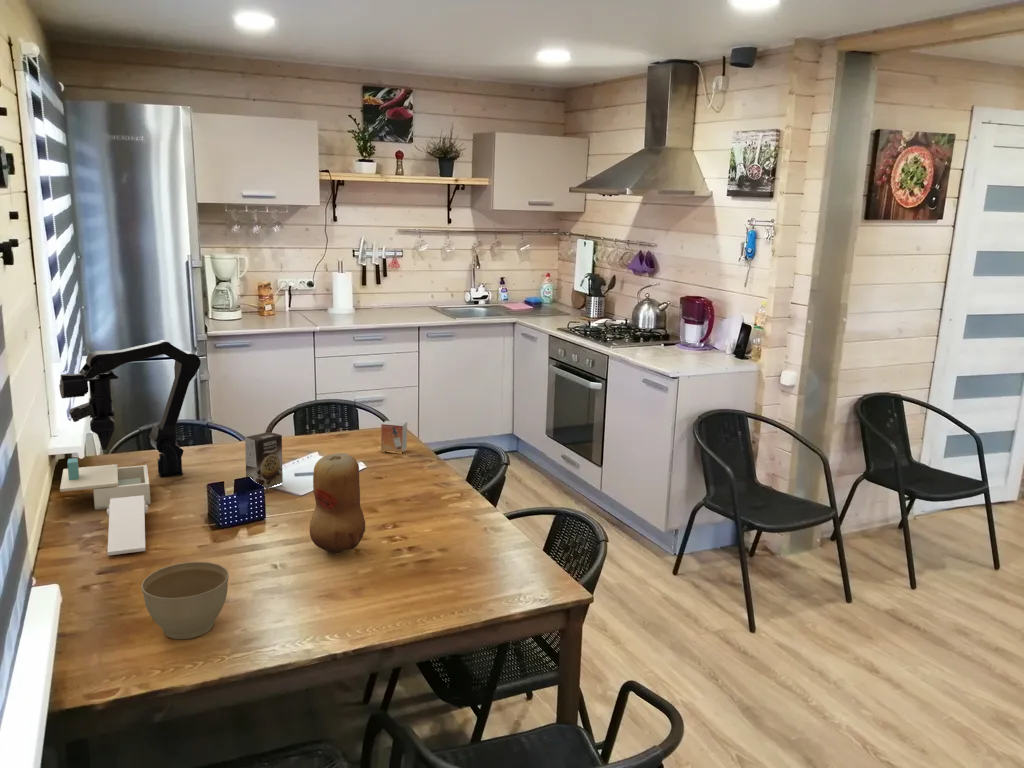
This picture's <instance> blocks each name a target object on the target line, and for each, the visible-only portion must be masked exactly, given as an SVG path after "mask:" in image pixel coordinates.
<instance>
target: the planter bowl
mask: <svg viewBox="0 0 1024 768" xmlns="http://www.w3.org/2000/svg"><path fill="white" fill-rule="evenodd" d="M229 575H230V574H229V570H228V569H227V568H226V567H224V566H223V565H220V564H218V563H215V562H210V561H208V562H207V561H188V562H187V561H186V562H182V563H181V562H179V563H176V564H171V565H168V566H164V567H161V568H159V569H157V570H155V571H154V572H152V573H150V574H149V575H147V577H145V578H144V579H143V581H142V583H141V587H140V588H141V593H142V594H143V600H144V604H145V607H146V610H147V612H148V613H149V615H150V617H151V619H152V620H153V621H154V623H155V624H157V625H156V626H158V627H160V628H161V629H162V632H163V634H164V635H165V636H166V637H168V638H170V639H174V640H188V639H194V638H197V637H200V636H202V635H204V634H207V633H208V632H209V631H211V630H212V629H213V627H214V626H215V621H216V619H217V618H218V616H219V614H220V613H221V612H222V609H223V607H224V605H225V602H226V598H227V595H228V587H229V586H228V583H229Z"/></svg>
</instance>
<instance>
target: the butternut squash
mask: <svg viewBox="0 0 1024 768" xmlns="http://www.w3.org/2000/svg"><path fill="white" fill-rule="evenodd" d="M312 483H313V484H312V485H313V487H312V488H313V495H314V496H313V497H314V500H315V508H314V510H313V513H312V514H311V519H310V522H309V535H310V539H311V541H312V543H314V545H315V546H316V547H318V548H320V549H321V550H323V551H325V552H328V553H332V554H336V553H340V554H342V552H345V551H349V550H354V549H355V548H356V547H357V546H358V545H359V544H360V542H361V541H362V539H363V537H364V534H365V532H366V520H365V515H364V512H363V510H362V508H361V489H360V488H361V487H360V465H359V462H358V461H357V459H356V458H355V457H353V455H349V454H347V453H344V452H343V453H342V452H337V453H331V454H327V455H325V456H322V457H321V458H320V459H318V460H317V462H316V463H315V464H314V468H313V475H312Z"/></svg>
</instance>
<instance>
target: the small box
mask: <svg viewBox="0 0 1024 768" xmlns="http://www.w3.org/2000/svg"><path fill="white" fill-rule="evenodd" d="M380 432H381V433H380V451H381V450H382V451H395V452H403V451H404V450H405V449H406V448H407V446H408V445H407V444H408V443H407V441H408V439H407V438H408V434H407V433H408V422H407V421H396V420H395V421H393V420H385V421H384V422H382V423H381V427H380Z"/></svg>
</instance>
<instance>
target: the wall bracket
mask: <svg viewBox="0 0 1024 768" xmlns="http://www.w3.org/2000/svg"><path fill="white" fill-rule="evenodd" d="M148 510H149V504H146V503H145V501H144V495H142V496H132V497H122V498H112V499H110V504H109V509H106V514H107V516H108V532H107V533H108V535H107V551H106V552H107V556H115V555H122V554H129V553H137V552H138V553H139V552H146V526H145V525H146V521H145V518H146V517H145V516H146V514H147V513H148Z"/></svg>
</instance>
